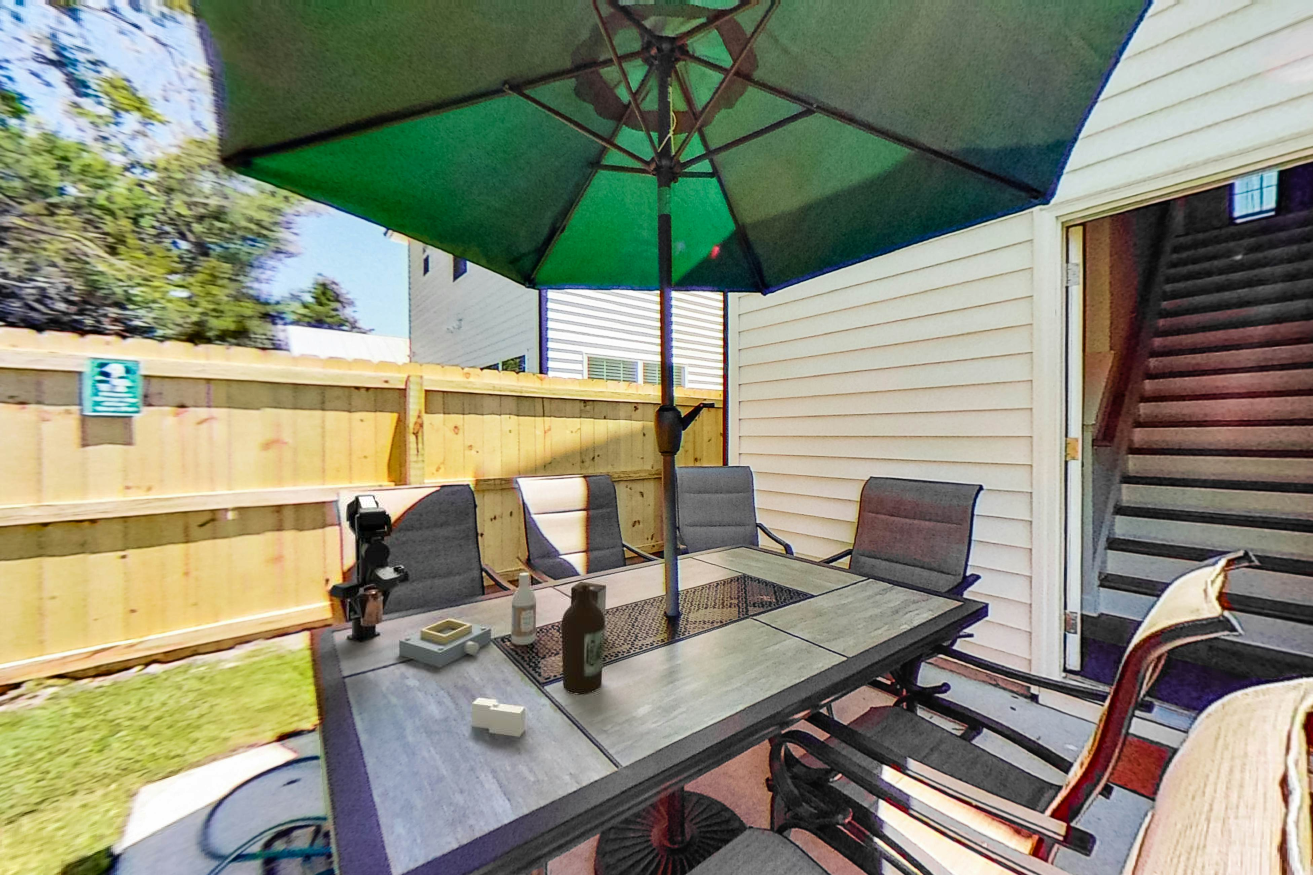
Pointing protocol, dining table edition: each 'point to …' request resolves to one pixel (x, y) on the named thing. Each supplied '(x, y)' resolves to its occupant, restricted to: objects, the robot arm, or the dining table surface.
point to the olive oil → (582, 643)
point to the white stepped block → (498, 717)
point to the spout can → (373, 608)
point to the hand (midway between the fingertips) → (371, 614)
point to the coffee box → (593, 596)
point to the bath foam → (523, 613)
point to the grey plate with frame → (445, 642)
